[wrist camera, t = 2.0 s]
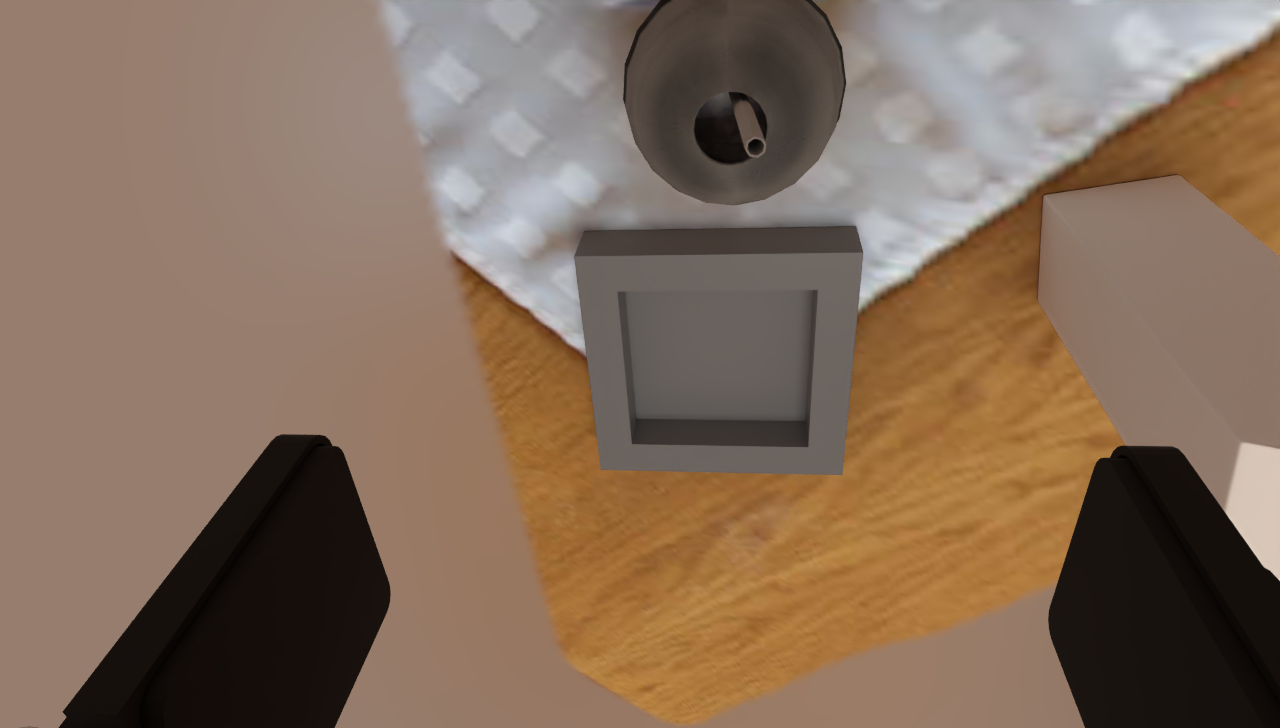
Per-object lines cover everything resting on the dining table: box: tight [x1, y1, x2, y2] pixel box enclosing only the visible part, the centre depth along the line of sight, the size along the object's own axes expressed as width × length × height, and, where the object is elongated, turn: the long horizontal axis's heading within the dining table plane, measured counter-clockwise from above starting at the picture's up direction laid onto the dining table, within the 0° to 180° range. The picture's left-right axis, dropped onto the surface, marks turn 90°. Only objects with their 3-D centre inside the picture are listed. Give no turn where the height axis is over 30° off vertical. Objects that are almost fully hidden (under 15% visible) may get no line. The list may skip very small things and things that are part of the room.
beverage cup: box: [623, 0, 846, 205], centre depth 28 cm, size 7×7×20 cm
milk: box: [1038, 175, 1280, 581], centre depth 30 cm, size 6×6×22 cm
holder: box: [574, 226, 863, 475], centre depth 44 cm, size 14×14×3 cm
